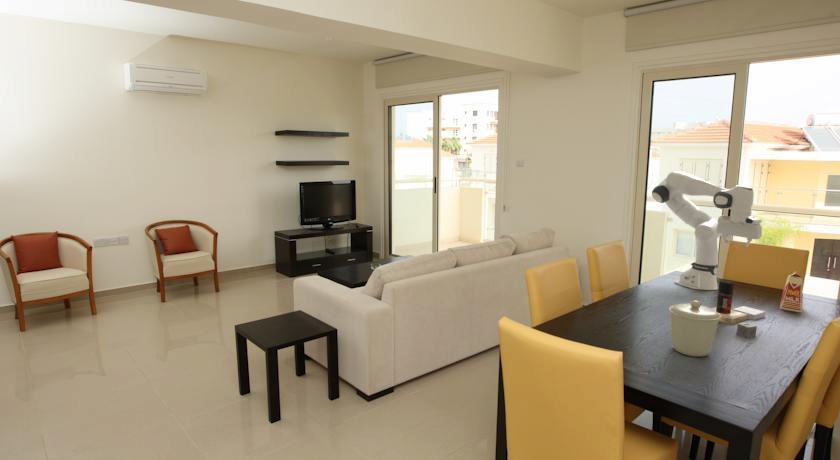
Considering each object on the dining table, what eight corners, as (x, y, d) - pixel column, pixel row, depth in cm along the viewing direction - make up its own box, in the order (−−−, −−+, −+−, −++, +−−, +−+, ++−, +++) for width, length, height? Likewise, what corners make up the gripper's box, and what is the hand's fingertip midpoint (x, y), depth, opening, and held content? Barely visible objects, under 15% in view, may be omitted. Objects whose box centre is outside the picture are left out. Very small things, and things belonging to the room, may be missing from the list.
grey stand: (732, 313, 244) (732, 309, 244) (742, 310, 250) (743, 306, 249) (754, 320, 236) (754, 314, 236) (764, 316, 241) (765, 311, 241)
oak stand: (701, 315, 242) (701, 310, 241) (717, 311, 249) (717, 305, 248) (731, 324, 230) (731, 318, 229) (747, 319, 237) (747, 314, 236)
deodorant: (726, 310, 241) (730, 280, 239) (732, 314, 235) (736, 283, 233) (713, 309, 242) (717, 279, 240) (719, 313, 236) (722, 283, 234)
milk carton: (802, 312, 248) (807, 273, 245) (779, 308, 253) (784, 270, 250) (802, 308, 255) (807, 270, 252) (780, 304, 260) (785, 267, 257)
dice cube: (736, 334, 217) (737, 323, 217) (744, 333, 219) (745, 322, 218) (747, 338, 213) (748, 327, 212) (755, 337, 215) (756, 326, 214)
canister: (671, 339, 211) (676, 291, 207) (720, 350, 199) (726, 299, 196) (660, 352, 197) (664, 301, 193) (712, 365, 185) (718, 311, 182)
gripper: (715, 215, 257) (712, 241, 260) (758, 221, 240) (754, 249, 243) (722, 214, 261) (718, 240, 263) (765, 220, 244) (760, 248, 246)
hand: (736, 244), depth 253 cm, fingers open, 8 cm apart
